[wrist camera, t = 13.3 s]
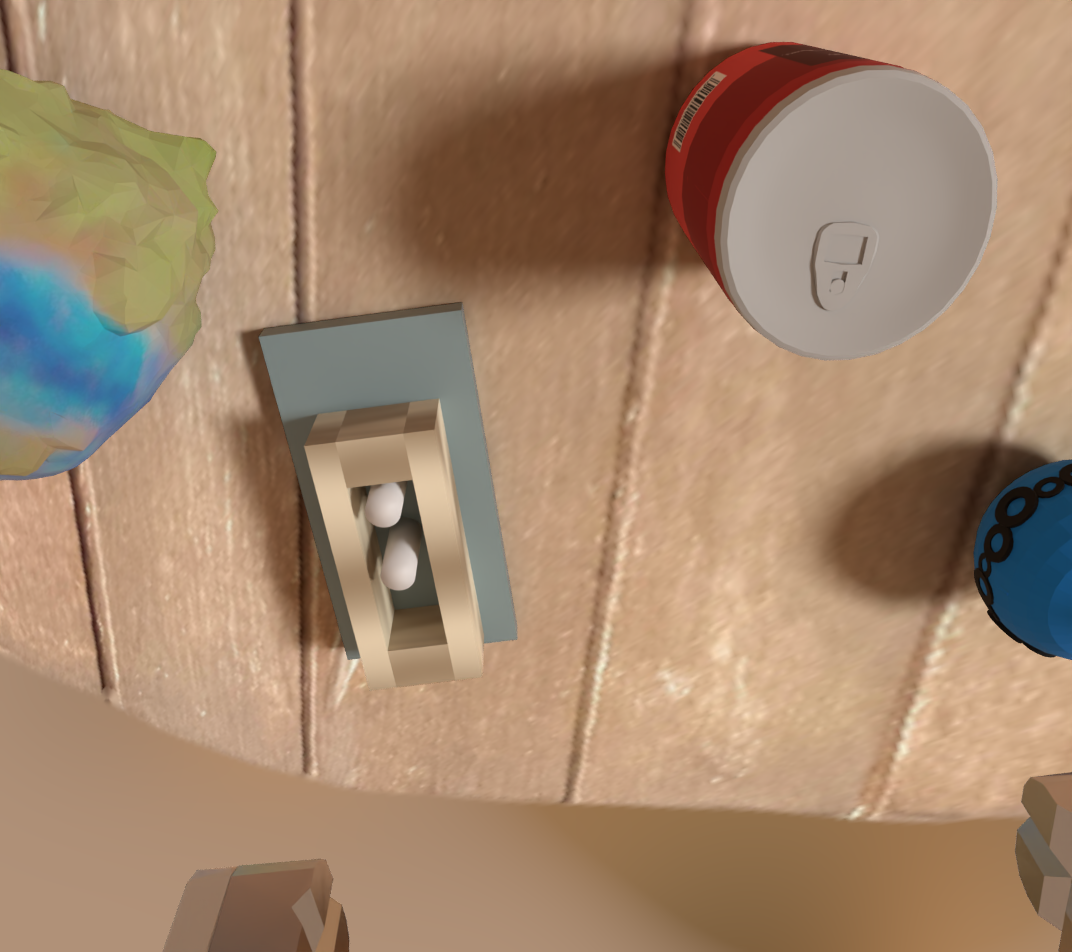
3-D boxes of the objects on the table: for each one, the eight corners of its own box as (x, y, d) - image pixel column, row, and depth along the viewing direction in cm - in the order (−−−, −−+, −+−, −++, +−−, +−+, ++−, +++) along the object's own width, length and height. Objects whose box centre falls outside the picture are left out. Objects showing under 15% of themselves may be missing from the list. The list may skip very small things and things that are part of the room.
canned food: (673, 279, 38) (731, 385, 28) (647, 63, 34) (703, 99, 24) (868, 242, 37) (995, 337, 28) (863, 19, 34) (1008, 39, 24)
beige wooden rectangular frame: (317, 414, 39) (304, 446, 36) (439, 398, 39) (434, 429, 36) (377, 647, 45) (369, 690, 42) (483, 635, 44) (482, 677, 42)
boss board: (264, 328, 38) (236, 369, 34) (462, 302, 38) (457, 340, 34) (351, 646, 46) (336, 710, 42) (517, 626, 45) (518, 689, 42)
